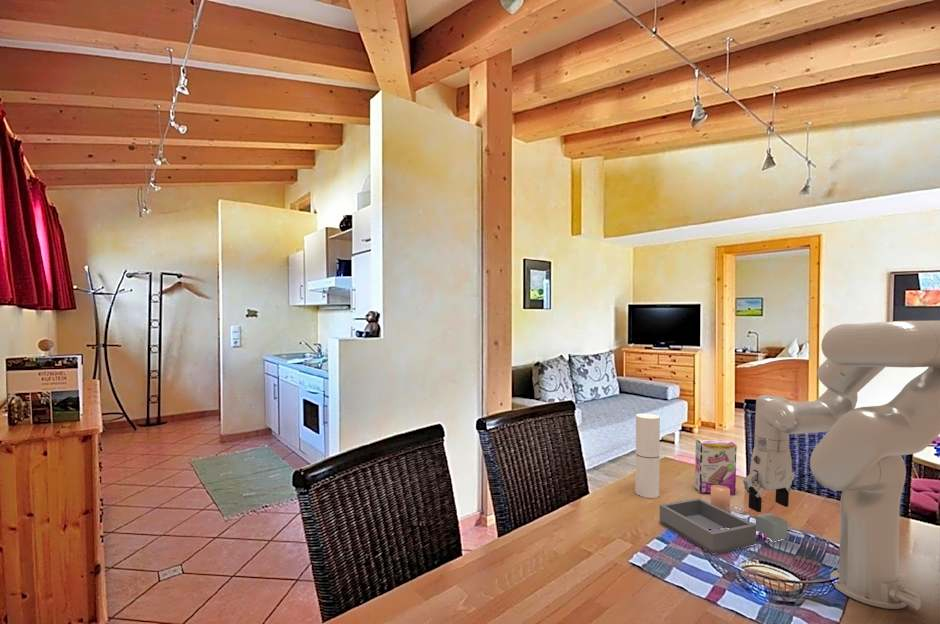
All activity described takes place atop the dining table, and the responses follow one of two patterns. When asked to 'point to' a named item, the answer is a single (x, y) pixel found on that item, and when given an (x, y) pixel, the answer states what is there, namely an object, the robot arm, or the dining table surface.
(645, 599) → the dining table surface
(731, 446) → the candy bar box
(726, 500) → the cylinder
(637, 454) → the cylindrical container
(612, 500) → the dining table surface
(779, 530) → the cube
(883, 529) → the robot arm
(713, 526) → the tray
